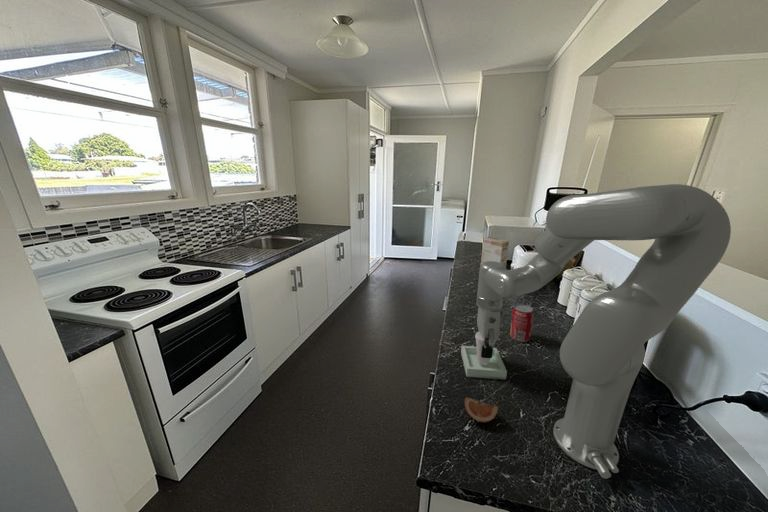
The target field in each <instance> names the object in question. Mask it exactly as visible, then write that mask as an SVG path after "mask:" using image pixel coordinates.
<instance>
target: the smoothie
mask: <svg viewBox="0 0 768 512" xmlns="http://www.w3.org/2000/svg"><path fill="white" fill-rule="evenodd" d="M487 337H488V336H487ZM474 338H475V340H476V341H475V342H476V347H477V361H478V363H480V364H482V365H487V364H489V360H490V358H482V357H481V352H482V346H483V338H482V336H481V334H480V331H478V330H477V332H475V337H474ZM496 341H497V340H495V338H494V344H495V343H496ZM488 342H489V340H486V343H488Z"/></svg>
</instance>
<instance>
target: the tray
mask: <svg viewBox="0 0 768 512" xmlns="http://www.w3.org/2000/svg"><path fill="white" fill-rule="evenodd" d="M460 348H461V349H460V354H461V358H462V363H463V368H464V371H465V376H466V377H468V378H481V379H491V380H492V379H493V380H507V375H508V374H507V373H508V371H507V369H506V366H505V364H504V362H503V359H502V357H501V354H500V353H499V349H498V348H497V347H493V353H492V358H490V360H489V364H487V365H482V364H480V363H478V361H477V346H470V345H461V347H460Z"/></svg>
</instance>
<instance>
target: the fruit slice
mask: <svg viewBox="0 0 768 512" xmlns="http://www.w3.org/2000/svg"><path fill="white" fill-rule="evenodd" d="M463 403H464V409H465V411H466V413H467V414H468V416H469V417H471V418H472V419H473V420H474V421H477V422H479V423H487V422H490V421H492V420H493V419H495V418H496V416H497V414H498V411H499V406H498V405H497V406H496V405H493V404H490V403H487V402H483V401H479V400H478V399H477V400H476V399H474V398H472V397H467V396H465V398H464V401H463Z"/></svg>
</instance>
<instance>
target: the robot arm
mask: <svg viewBox="0 0 768 512" xmlns="http://www.w3.org/2000/svg"><path fill="white" fill-rule="evenodd" d="M545 216H546V218H545V223H546V227H547V228H545V229H544V230H543V231H542V232H541V233H540V234H539V235H538V236H537V237H536V238H535V240H534V244H533V245H534V248H535V250H536V252H537V254H536V255H535V256H534V257H533V258H532V260H530V261H529V262H528V263H527V264H525V265H524V266H522V267H516V268H513V269H507V265H506V266H505V265H504V264H502V263H499V262H495V261H487V262H484V263H482V264H481V263H480V266H479V274H478V284H477V294H476V303H475V304H476V306H477V307H478V309H477V315H476V317H477V318H476V325H477V332H478V331H480V334H481V336H482V338H483V346H482V352H481V357H482V358H492V353H493V348H494V347H495V343H494V338H495V340H496V341H499V339H500V327H501V310H502V309H503V304H504V303H503V301H504V299H509V300H510V299H515V298H518V297H521V296H523V295H527V294H530V293H534V292H536V291H538V290H540V289H541V288H543V287H545V286H546V285H547V284H548V283H549V282H551V281H552V280H553V279H554V278H555V277H557V276H558V275H559V274H560V273H561V272H562V271H563V269H564V268H565V266H566V264H567V263H568V262H569V261H570V260H572V258H574V257H575V256H576V255H578V254H579V253H580V252H582V251H583V250H584V249H585V248H586V247H588V246H589V245H590V244H591V243H594V241H647V240H648V241H649V240H654V241H653V242H652V245H651V246H650V247H649V248H648V249H647V250H646V251H645V252H644V253H643V255H642V256H641V257H640V258H639V260H638V261H637V263H636V265H635V266H634V268H633V269H632V270H631V272H630V273H629V274H628V275H627V277H626V279H625V280H624V281H623V282H622V283H621V284H620V285H619V286H617V287H615V288H613V289H610V290H608V291H605V292H603V293H601V294H599V295H597V296H595V297H594V298H593V299H592V300H590V301H588V303H587V304H586V306H585V307H584V308H583V309H582V311H581V312H580V314H579V315H578V317H577V318H576V320H575V322H574V323H573V325H572V326H571V328H570V330H569V331H568V332H567V334H566V336H565V337H564V339H563V340H562V343H561V345H560V349H559V360H560V363H561V366H562V368H563V369H564V371H565V372H566V373H567V375H568V376H569V377H570V378H572V382H571V386H570V391H569V396H568V398H567V404H566V408H565V412H564V416H563V417H562V418H559V419H558V420H556V422H554V425H553V432H552V434H553V437H554V440H555V441H556V443H557V444H558V446H559V447H560V449H562V451H563V452H564V453H566V455H568V456H569V457H570V458H571V459H573V460H574V461H576V463H579V464H581V465H582V466H585V467H587V468H590V469H592V470H596V471H597V472H598V473H599V475H600V478H602V479H609V478H611V477H612V474H611V472H612V473H613V474H617V473H619V472H620V470H619V468H618V466H617V465H618V463H619V461H620V460H619V459H620V454H619V450H618V448H617V446H616V445H615V440H616V437H617V434H618V431H619V426H620V424H621V422H622V421H621V420H622V417H623V416H624V415H623V414H624V412H625V408H626V404H627V402H628V399H629V397H630V396H629V395H630V393H631V389H632V387H633V386H634V383H635V380H636V379H637V376H638V374H639V372H640V370H641V368H642V365H643V363H644V360H645V355H646V349H645V344H646V343H647V342H648V341H649V340H651V339H652V338H654V337H656V336H657V335H659V334H660V333H662V332H664V331H665V330H666V329H667V328H668V327H669V326H670V325H671V323H672V322H673V320H674V319H675V317H676V316H677V315H678V313H679V312H680V311H681V310H682V309H683V307H684V306H685V305H686V304H687V303H688V302H689V301H690V300H691V298H692V297H693V296H694V294H695V293H696V292H697V291H698V290H699V288H700V287H701V285H702V284H703V283H704V281H705V280H706V279H707V278H708V276H710V275H711V273H712V272H713V270H715V268H716V267H717V266H718V264H719V262H721V260H722V258H723V257H724V256H725V254H726V251H727V249H728V247H729V243H730V239H731V233H732V229H731V228H732V227H731V226H732V225H731V220H730V217H729V214H728V213H727V211H726V209H725V207H723V205H722V204H721V203H720V202H719V200H718V199H716V198H715V197H714V196H713V195H711V193H708V191H706V190H703V189H701V188H699V187H696V186H693V185H690V184H681V183H680V184H676V183H675V184H662V185H658V184H657V185H648V186H647V185H646V186H639V187H632V188H623V189H618V190H617V189H616V190H608V191H602V192H593V193H582V194H571V195H567V196H564V197H561V198H560V199H558V200H556V201H555V202H554V203H553V204H552V205H551V206H550V208H549V209H548V211H547V212H546V215H545ZM487 336H488V337H487ZM486 340H489V342H488V343H486ZM610 471H611V472H610Z"/></svg>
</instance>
